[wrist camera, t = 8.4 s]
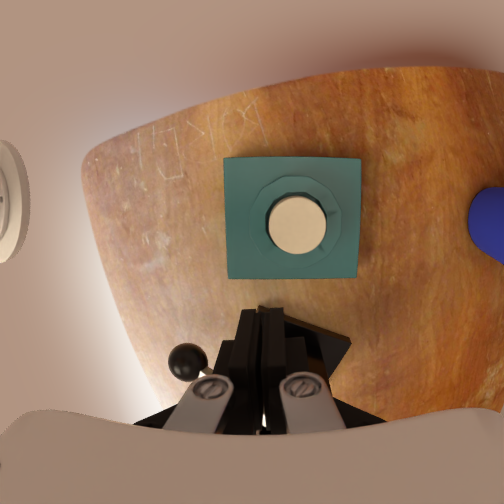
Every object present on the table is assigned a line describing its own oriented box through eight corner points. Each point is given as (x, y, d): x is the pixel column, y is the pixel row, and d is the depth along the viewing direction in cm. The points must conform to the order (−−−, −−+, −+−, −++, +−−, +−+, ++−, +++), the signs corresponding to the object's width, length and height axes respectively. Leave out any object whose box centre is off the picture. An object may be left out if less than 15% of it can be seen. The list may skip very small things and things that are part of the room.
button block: (231, 271, 27) (224, 287, 23) (227, 159, 24) (219, 156, 20) (350, 270, 26) (362, 285, 22) (353, 159, 24) (368, 157, 20)
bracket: (230, 365, 30) (209, 461, 17) (258, 304, 28) (249, 397, 15) (313, 392, 30) (326, 484, 18) (349, 337, 28) (386, 428, 16)
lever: (180, 358, 24) (156, 371, 21) (190, 330, 23) (164, 342, 21) (306, 441, 19) (293, 466, 17) (327, 417, 19) (315, 443, 16)
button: (269, 248, 22) (269, 254, 21) (268, 195, 21) (268, 197, 20) (321, 248, 22) (325, 254, 20) (322, 195, 21) (326, 197, 19)
